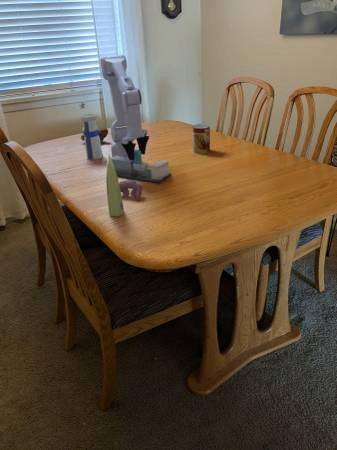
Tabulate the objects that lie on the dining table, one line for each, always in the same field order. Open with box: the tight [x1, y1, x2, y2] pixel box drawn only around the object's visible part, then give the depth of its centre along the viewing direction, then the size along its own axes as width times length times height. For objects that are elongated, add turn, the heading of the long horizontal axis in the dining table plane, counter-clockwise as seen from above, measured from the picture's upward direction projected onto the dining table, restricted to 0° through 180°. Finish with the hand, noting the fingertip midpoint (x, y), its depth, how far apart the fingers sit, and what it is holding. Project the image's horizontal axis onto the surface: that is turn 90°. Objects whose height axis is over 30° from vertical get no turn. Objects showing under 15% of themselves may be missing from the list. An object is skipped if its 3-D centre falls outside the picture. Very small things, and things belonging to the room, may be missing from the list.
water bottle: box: [79, 101, 104, 160], centre depth 173 cm, size 8×9×25 cm
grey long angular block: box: [111, 156, 172, 185], centre depth 153 cm, size 25×10×6 cm, turn 60°
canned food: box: [192, 123, 211, 155], centre depth 175 cm, size 8×8×12 cm
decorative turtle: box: [80, 127, 109, 144], centre depth 199 cm, size 10×15×8 cm, turn 89°
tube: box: [105, 154, 125, 217], centre depth 120 cm, size 6×5×20 cm
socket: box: [150, 160, 170, 180], centre depth 148 cm, size 4×7×5 cm, turn 150°
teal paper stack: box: [131, 149, 149, 171], centre depth 153 cm, size 16×3×8 cm, turn 60°
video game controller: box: [119, 179, 144, 202], centre depth 135 cm, size 10×5×7 cm, turn 71°
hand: (137, 156), depth 151 cm, fingers open, 7 cm apart
